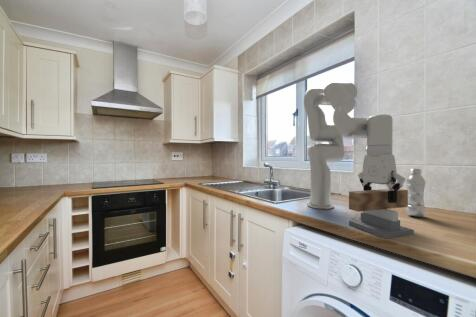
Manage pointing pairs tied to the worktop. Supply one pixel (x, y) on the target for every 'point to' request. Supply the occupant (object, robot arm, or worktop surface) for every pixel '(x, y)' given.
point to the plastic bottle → (415, 193)
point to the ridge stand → (381, 223)
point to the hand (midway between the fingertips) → (379, 199)
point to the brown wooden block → (376, 200)
